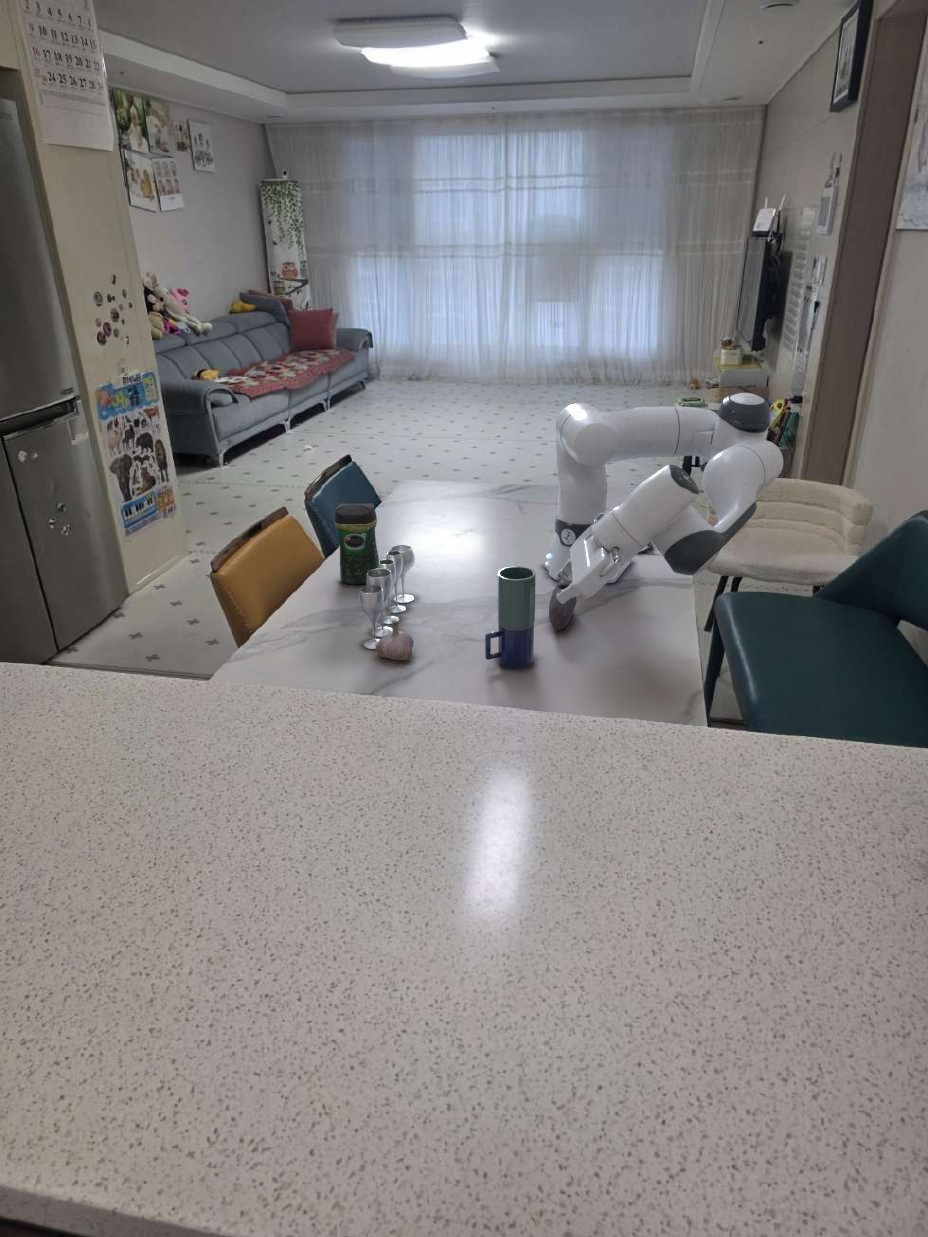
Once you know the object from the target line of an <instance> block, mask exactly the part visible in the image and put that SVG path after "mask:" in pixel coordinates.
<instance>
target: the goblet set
mask: <svg viewBox="0 0 928 1237" xmlns="http://www.w3.org/2000/svg"><path fill="white" fill-rule="evenodd" d="M415 561H416V557H415V553H414V551H413V547H412V546H410V545H407V544H397V545H393V546H391V547H390V550H389V551H387V553H386V559H381V560H379V566H378V569H374V570H371V571H369V572H368V573H367V580H366V583H367V584H366V585H365V586H363V587H361V588H360V589H359V604H360V607H361V609H362V611H363V612H364V614H365V615H366V616H367V617H368V619H369V620H370V624H371V627H372V630H371V635H372V636H373V638H372V639H368V640H366V641H364V643H363V646H364V647H365V648H366V649H369V650H376V645H377V643H378V641H379V640H380V638H382V637H383V636H385V635H389V634H391V633H393V629H392V627H390V626H384V624H385V625H392V620H397V621H398V622H400V618H399V617H398V616H395V615H392V614H391V613H393V614H400V613H403V612H405V611H406V610H407V607H406V606H405V605H399V604H407V603H411V602H413V601H414V600H415V597H414V596H413V595H411V594H405V578H406V575H407V574H408V572H409V571H411V569H412V568H413V567H414V565H415V563H416V562H415ZM399 580H401V589H402V594H398V586H399V585H398V584H399ZM393 589H394V595H395V596H394V597H393V601H394V602H395V605H392V606H391V597H392V596H391V595H392V591H393ZM386 602H387V606H388V609H387V610H388V615H386V616H384V606H385V604H386ZM379 615H380V625H381V626H378V627H376V621H377V618H378V617H379ZM376 637H377V638H376Z"/></svg>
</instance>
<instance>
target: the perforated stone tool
mask: <svg viewBox="0 0 928 1237" xmlns="http://www.w3.org/2000/svg"><path fill="white" fill-rule="evenodd" d="M572 582H573V581H570V580H566V581H564V582H563V583H560V582H559V581H558V583H557V584H556V586H555V587H554V589H553V591H552V594H551V596H550V599H549V604H548V615H549V616H548V617H549V622H550V625H551V626H552V628H553V629H554V630H555V631H561V630H562V629H564V628H565V627H566V626H567V625H569V622H570V620H571V618H572V617H573V614H574V611H575V609H576V606H577V602H578V599H577V596H575V597H573V598H570V599H569V600H568V601H566V602H565V603H564V604H561V603H560V602H559V601H558V600H557V593H559V592H560V591H561V590H562V589H565V588H567V587H568V586H570V583H572Z"/></svg>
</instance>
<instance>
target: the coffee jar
mask: <svg viewBox="0 0 928 1237" xmlns="http://www.w3.org/2000/svg"><path fill="white" fill-rule="evenodd" d="M335 508H336V509H335V512H334V526H335V528H336V530H337V534H338V539H339V540H338V541H339V578H340V581H341V582H342V583H343V584H348V585H364V584H365V585H367V583H366V580H367V573H368V572H369V571H371V570H374V569H378V566H379V561H380V557H379V551H378V546H377V539H376V527H377V524H378V516H377V512H376V507H375V505H374V503H371V502H370V503H339V504H338V505H337V506H336V507H335Z"/></svg>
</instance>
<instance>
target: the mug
mask: <svg viewBox="0 0 928 1237" xmlns="http://www.w3.org/2000/svg"><path fill="white" fill-rule="evenodd" d="M497 625H498V624H497ZM497 628H498V630H497V631H492V632H488V633H485V636H484V644H485V645H484V649H485V653H484V654H485V656H484V658H485V659H486V660H487V661H489V660H494V659H497V660H498V663H499V664H500V665H501V666H502V667H504V668H506V669H507V668H508V669H512V670H513V669H514V670H515V669H516V670H518V669H525V668H529V666H531V665H533V663H534V644H535V643H534V642H535V641H534V640H535V632H534V631H535V624H534V625H533V626H532V627H531V628H529V629H526V630H519V631H514V630H507V629H504V628H502V627H500V626H499V625H498V627H497ZM495 638H497V643H498V644H497V650H498V651H497V652H493V653H492V652H491V650H492V648H491V647H492V646H491V644H492V642H491V641H492V640H491V639H495Z"/></svg>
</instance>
